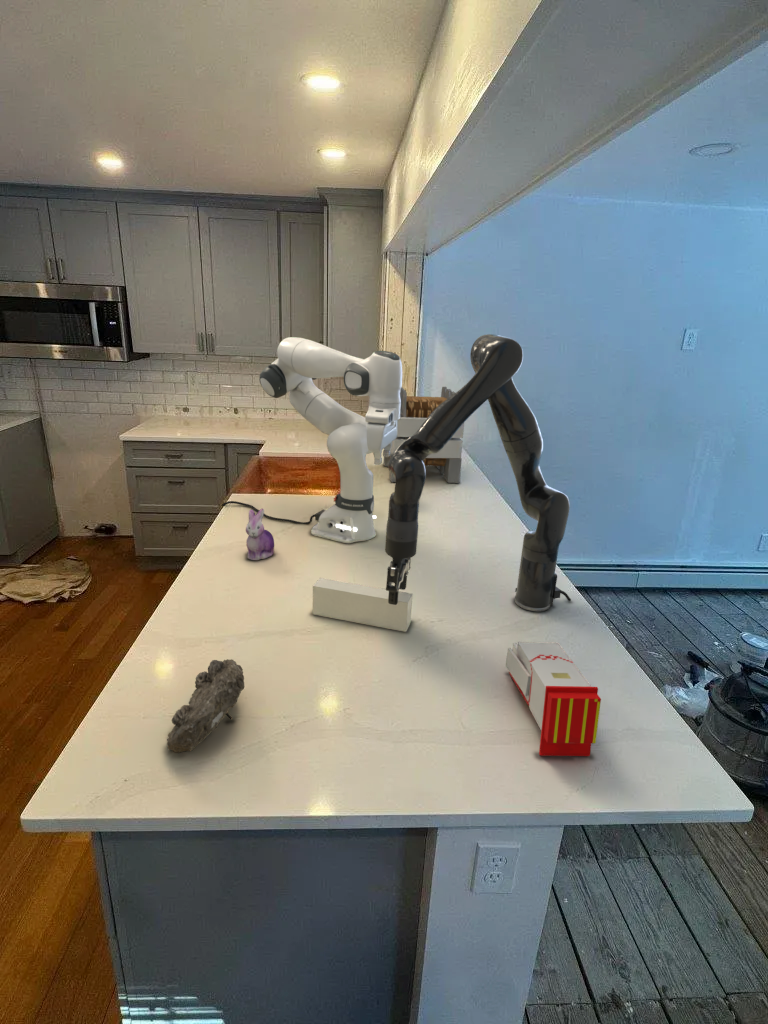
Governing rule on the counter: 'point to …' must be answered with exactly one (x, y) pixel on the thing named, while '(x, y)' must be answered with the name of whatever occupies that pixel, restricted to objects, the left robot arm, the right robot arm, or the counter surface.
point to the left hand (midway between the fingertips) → (382, 460)
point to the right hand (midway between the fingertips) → (397, 595)
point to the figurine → (258, 537)
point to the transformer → (410, 422)
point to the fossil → (206, 705)
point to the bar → (361, 604)
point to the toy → (556, 697)
